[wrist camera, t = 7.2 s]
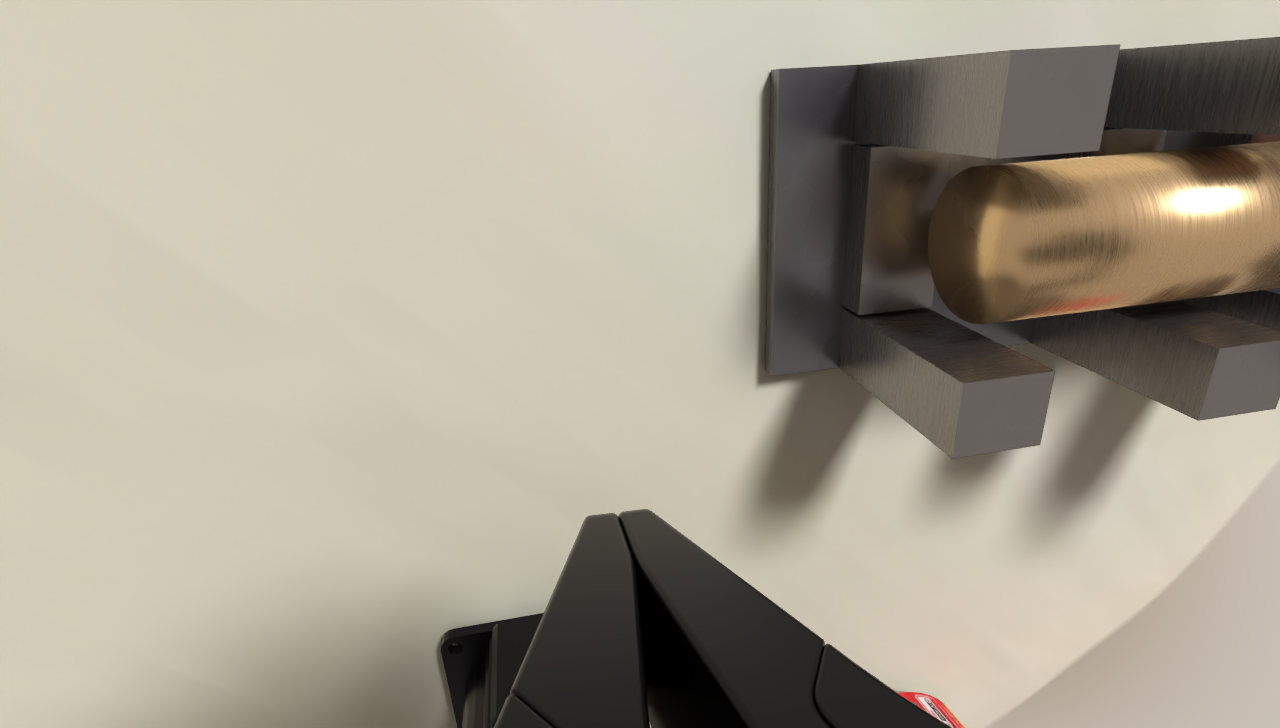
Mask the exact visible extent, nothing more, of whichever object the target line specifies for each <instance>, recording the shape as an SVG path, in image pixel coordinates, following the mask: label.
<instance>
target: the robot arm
mask: <svg viewBox="0 0 1280 728" xmlns="http://www.w3.org/2000/svg"><path fill="white" fill-rule="evenodd" d="M453 643H460V645H458V646H456V645H452V644H453ZM441 654H442V658H443V663H444V667H445V672H446V676H447V681H448V685H449V690H450V694H451V699H452V703H453V708H454V713H455V717H456V722H457V726H458V728H650V724H651V728H952V727H950V726H948V725H947V724H945V723H944V722H942V721H940V720H939V719H937V718H936V717H934V716H933V715H931V714H930V713H928V712H926V711H925V710H923V709H922V708H920V707H919V706H917V705H916V704H914V703H912V702H911V701H909V700H908V699H906V698H905V697H903V696H902V695H900V694H899V693H897V692H895V691H894V690H892V689H891V688H890V687H888V686H887V685H885V684H884V683H883V682H881V681H880V680H878V679H877V678H876V677H874V676H873V675H871V674H870V673H868V672H867V671H866V670H864V669H863V668H861V667H860V666H859V665H857V664H856V663H854V662H853V661H852V660H850V659H849V658H848V657H846V656H845V655H844V654H842V653H841V652H840V651H838V650H837V649H836V648H834V647H833V646H832V645H830V644H826V645H825V642H824V640H823V639H822V638H820V637H819V636H818V635H816V634H815V633H814V632H812V631H811V630H810V629H808V628H807V627H806V626H804V625H803V624H802V623H800V622H799V621H798V620H796V619H795V618H794V617H792V616H791V615H790V614H788V613H787V612H786V611H784V610H783V609H782V608H780V607H779V606H778V605H776V604H775V603H774V602H772V601H771V600H770V599H768V598H767V597H766V596H764V595H763V594H762V593H760V592H759V591H758V590H756V589H755V588H754V587H752V586H751V585H750V584H748V583H747V582H746V581H744V580H743V579H742V578H740V577H739V576H738V575H736V574H735V573H733V572H732V571H731V570H729V569H728V568H727V567H725V566H724V565H723V564H721V563H720V562H719V561H717V560H716V559H715V558H713V557H712V556H711V555H709V554H708V553H707V552H705V551H704V550H703V549H701V548H700V547H699V546H697V545H696V544H695V543H693V542H692V541H691V540H689V539H688V538H687V537H685V536H684V535H683V534H681V533H680V532H679V531H677V530H676V529H675V528H673V527H672V526H671V525H669V524H668V523H667V522H665V521H664V520H663V519H661V518H660V517H659V516H657V515H656V514H655V513H653V512H652V511H650V510H648V509H641V510H633V511H625V512H621V513H620V514H619V516H617V515H616V514H614V513H608V514H600V515H591V516H588V517H586V519H585V520H584V522H583V525H582V527H581V529H580V532H579V534H578V536H577V538H576V541H575V543H574V545H573V548H572V550H571V552H570V555H569V557H568V559H567V561H566V564H565V566H564V568H563V571H562V573H561V575H560V578H559V580H558V582H557V584H556V587H555V589H554V591H553V594H552V596H551V598H550V601H549V603H548V605H547V608H546V610H545V612H544V613H542V614H536V615H530V616H525V617H519V618H513V619H508V620H502V621H496V622H491V623H485V624H479V625H473V626H468V627H462V628H456V629H452V630H449V631H448V632H447V633H445V634H444V636H443V638H442V644H441ZM649 721H650V724H649Z"/></svg>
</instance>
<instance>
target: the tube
mask: <svg viewBox="0 0 1280 728" xmlns="http://www.w3.org/2000/svg"><path fill="white" fill-rule="evenodd" d="M928 258H929V265H930V271H931V275H932V279H933V282H934V285H935V287H936V289H937V292H938V294H939V296H940V297H941V299H942V301H943V302H944V304H945V305H946V306H947V308H948V309H949V310H950V311H951V312H952V313H953V314H954V315H956V316H957V317H958V318H960V319H962V320H963V321H966V322H968V323H972V324H988V323H996V322H1005V321H1013V320H1021V319H1029V318H1037V317H1046V316H1054V315H1062V314H1070V313H1078V312H1087V311H1095V310H1103V309H1111V308H1120V307H1128V306H1136V305H1144V304H1152V303H1161V302H1169V301H1177V300H1185V299H1193V298H1202V297H1210V296H1218V295H1226V294H1234V293H1243V292H1251V291H1259V290H1267V289H1275V288H1280V141H1277V142H1265V143H1253V144H1240V145H1228V146H1216V147H1204V148H1191V149H1179V150H1167V151H1155V152H1143V153H1130V154H1118V155H1106V156H1094V157H1081V158H1069V159H1057V160H1045V161H1032V162H1020V163H1008V164H996V165H984V166H975V167H970V168H967V169H965V170H963V171H961V172H960V173H958V174H957V175H956V176H954V177H953V178H952V179H951V180H950V181H949V182H948V184H947V185H946V186H945V188H944V189H943V190H942V192H941V194H940V196H939V198H938V200H937V202H936V205H935V207H934V210H933V213H932V217H931V221H930V226H929V233H928Z"/></svg>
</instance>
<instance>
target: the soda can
mask: <svg viewBox="0 0 1280 728" xmlns="http://www.w3.org/2000/svg"><path fill="white" fill-rule="evenodd" d="M899 694H900V695H902V696H903V697H905V698H906V699H908V700H909V701H911V702H912V703H914V704H916V705H917V706H919V707H920V708H922V709H923V710H925V711H926V712H928V713H930V714H931V715H933V716H934V717H936V718H937V719H939V720H940V721H942V722H944V723H945V724H947V725H948V726H950V727H952V728H965V727H964V726H963V725H962V724H961V722H960V721H959V720H958V719H957V718H956V717H955V716H954V714H953V713H952V712H951V711H950V710H949V709H948V708H947V707H946V705H945V704H944V703H942V702H941V701H940V700H938V699H937V698H934V697H932V696H930V695H927V694H922V693H915V692H899Z"/></svg>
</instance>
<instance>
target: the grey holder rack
mask: <svg viewBox="0 0 1280 728" xmlns="http://www.w3.org/2000/svg"><path fill="white" fill-rule="evenodd" d="M1119 49H1120V45H1101V46H1082V47H1064V48H1045V49H1026V50H1009V51H998V52H988V53H977V54H967V55H957V56H946V57H936V58H925V59H915V60H904V61H894V62H883V63H873V64H863V65H847V66H829V67H810V68H792V69H776V70H771V101H770V151H769V202H768V253H767V303H766V354H765V369H766V370H767V371H768V373H769V374H770V375H771V376H776V375H784V374H792V373H800V372H808V371H815V370H823V369H831V368H840V369H842V370H843V371H844V372H845V373H847V374H848V375H849V376H850V377H852V378H853V379H854V380H855V381H857V382H858V383H859V384H860V385H861V386H863V387H864V388H865V389H866V390H868V391H869V392H870V393H871V394H873V395H874V396H875V397H876V398H878V399H879V400H880V401H881V402H883V403H884V404H885V405H886V406H888V407H889V408H890V409H891V410H893V411H894V412H895V413H896V414H898V415H899V416H900V417H901V418H902V419H904V420H905V421H906V422H907V423H909V424H910V425H911V426H912V427H914V428H915V429H916V430H917V431H919V432H920V433H921V434H922V435H924V436H925V437H926V438H927V439H929V440H930V441H931V442H932V443H934V444H935V445H936V446H937V447H938V448H940V449H941V450H942V451H943V452H945V453H946V454H947V455H948V456H950V457H951V458H952V459H953V458H960V457H966V456H973V455H979V454H986V453H992V452H998V451H1005V450H1011V449H1018V448H1024V447H1031V446H1037V445H1040V443H1041V438H1042V433H1043V428H1044V423H1045V418H1046V413H1047V408H1048V403H1049V398H1050V393H1051V388H1052V383H1053V378H1054V373H1055V371H1054V370H1052V369H1050V368H1048V367H1046V366H1044V365H1042V364H1040V363H1038V362H1036V361H1034V360H1032V359H1030V358H1028V357H1026V356H1024V355H1022V354H1020V353H1018V352H1015V351H1013V350H1011V349H1009V348H1007V347H1005V346H1011V345H1018V344H1026V343H1032V344H1034V345H1037V346H1039V347H1041V348H1043V349H1045V350H1047V351H1049V352H1052V353H1054V354H1056V355H1058V356H1060V357H1062V358H1065V359H1067V360H1069V361H1071V362H1073V363H1075V364H1077V365H1080V366H1082V367H1084V368H1086V369H1088V370H1090V371H1092V372H1095V373H1097V374H1099V375H1101V376H1103V377H1105V378H1108V379H1110V380H1112V381H1114V382H1116V383H1118V384H1120V385H1123V386H1125V387H1127V388H1129V389H1131V390H1133V391H1136V392H1138V393H1140V394H1142V395H1144V396H1146V397H1148V398H1151V399H1153V400H1155V401H1157V402H1159V403H1161V404H1164V405H1166V406H1168V407H1170V408H1172V409H1174V410H1176V411H1179V412H1181V413H1183V414H1185V415H1187V416H1189V417H1191V418H1194V419H1196V420H1198V421H1199V420H1205V419H1212V418H1218V417H1225V416H1231V415H1238V414H1244V413H1251V412H1257V411H1264V410H1270V409H1276V406H1277V403H1278V401H1279V398H1280V288H1275V289H1267V290H1259V291H1251V292H1243V293H1234V294H1226V295H1218V296H1210V297H1202V298H1193V299H1185V300H1177V301H1169V302H1161V303H1152V304H1144V305H1136V306H1128V307H1120V308H1111V309H1103V310H1095V311H1087V312H1078V313H1070V314H1062V315H1054V316H1046V317H1037V318H1029V319H1021V320H1013V321H1005V322H996V323H988V324H972V323H968V322H966V321H963V320H962V319H960V318H958V317H957V316H956V315H954V314H953V313H952V312H951V311H950V310H949V309H948V308H947V306H946V305H945V304H944V302H943V301H942V299H941V297H940V296H939V294H938V292H937V289H936V287H935V285H934V282H933V279H932V275H931V271H930V265H929V258H928V233H929V226H930V221H931V217H932V213H933V210H934V207H935V205H936V202H937V200H938V198H939V196H940V194H941V192H942V190H943V189H944V188H945V186H946V185H947V184H948V182H949V181H950V180H951V179H952V178H953V177H954V176H956V175H957V174H958V173H960V172H961V171H963V170H965V169H967V168H970V167H975V166H984V165H996V164H1008V163H1020V162H1032V161H1045V160H1057V159H1069V158H1081V157H1094V156H1106V155H1118V154H1130V153H1143V152H1155V151H1167V150H1179V149H1191V148H1204V147H1216V146H1228V145H1240V144H1253V143H1265V142H1277V141H1280V37H1273V38H1260V39H1248V40H1235V41H1223V42H1210V43H1197V44H1185V45H1172V46H1160V47H1147V48H1135V49H1122V50H1119Z"/></svg>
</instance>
